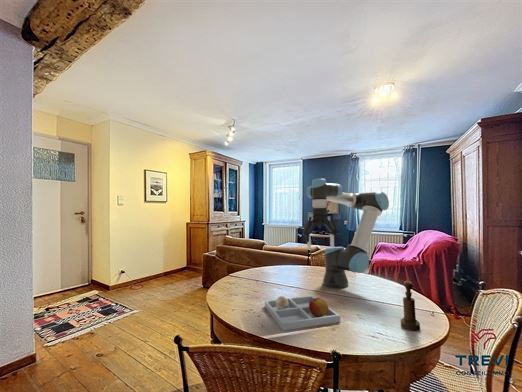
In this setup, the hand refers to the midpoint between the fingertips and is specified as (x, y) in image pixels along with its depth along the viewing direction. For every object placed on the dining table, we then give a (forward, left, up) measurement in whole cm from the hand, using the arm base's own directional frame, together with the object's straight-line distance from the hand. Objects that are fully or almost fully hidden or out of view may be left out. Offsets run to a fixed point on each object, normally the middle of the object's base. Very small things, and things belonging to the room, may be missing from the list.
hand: (320, 247), depth 133 cm
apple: (+14, +22, -26) cm, 37 cm away
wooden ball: (+26, +10, -26) cm, 38 cm away
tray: (+20, +16, -27) cm, 37 cm away
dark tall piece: (-17, +39, -27) cm, 50 cm away
